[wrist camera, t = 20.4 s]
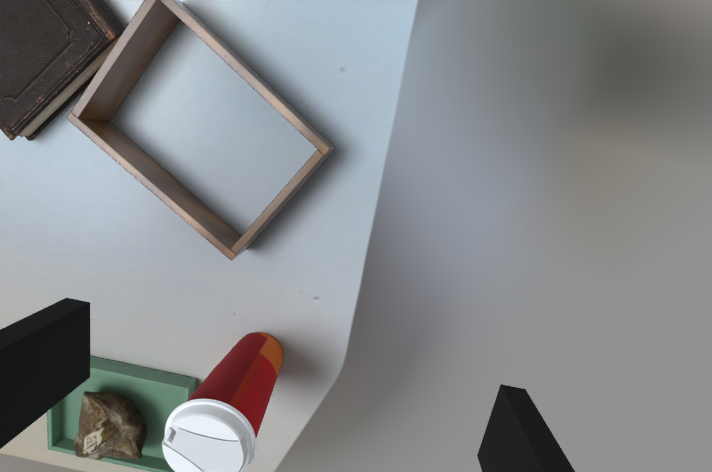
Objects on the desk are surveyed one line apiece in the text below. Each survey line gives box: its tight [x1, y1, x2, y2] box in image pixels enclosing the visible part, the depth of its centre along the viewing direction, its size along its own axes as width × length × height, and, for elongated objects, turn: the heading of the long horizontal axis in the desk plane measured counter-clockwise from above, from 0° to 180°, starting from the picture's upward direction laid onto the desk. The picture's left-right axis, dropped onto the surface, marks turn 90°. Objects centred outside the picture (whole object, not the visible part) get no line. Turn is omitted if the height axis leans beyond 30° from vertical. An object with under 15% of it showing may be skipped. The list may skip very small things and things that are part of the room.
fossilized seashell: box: [74, 391, 147, 460], centre depth 42 cm, size 8×7×10 cm
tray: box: [47, 356, 197, 472], centre depth 44 cm, size 17×13×2 cm
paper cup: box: [162, 332, 283, 472], centre depth 35 cm, size 8×8×14 cm
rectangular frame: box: [67, 0, 335, 260], centre depth 34 cm, size 20×15×4 cm
